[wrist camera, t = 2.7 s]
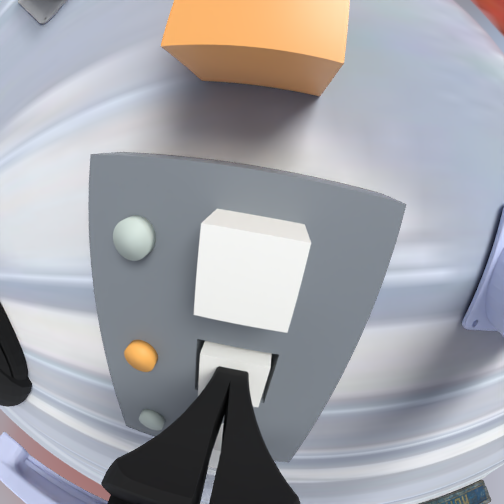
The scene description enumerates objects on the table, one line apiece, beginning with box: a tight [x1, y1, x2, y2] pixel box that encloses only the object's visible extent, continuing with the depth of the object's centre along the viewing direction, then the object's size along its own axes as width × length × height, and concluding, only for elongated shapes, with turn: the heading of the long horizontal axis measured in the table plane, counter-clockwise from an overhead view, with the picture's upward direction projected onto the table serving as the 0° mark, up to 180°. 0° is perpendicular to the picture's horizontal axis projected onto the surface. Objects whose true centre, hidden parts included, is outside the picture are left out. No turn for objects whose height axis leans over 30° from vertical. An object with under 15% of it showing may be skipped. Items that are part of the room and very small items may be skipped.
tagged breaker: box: [198, 341, 272, 407], centre depth 13 cm, size 3×3×3 cm
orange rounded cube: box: [161, 0, 350, 96], centre depth 7 cm, size 5×5×4 cm
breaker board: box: [89, 152, 406, 469], centre depth 12 cm, size 12×18×4 cm, turn 171°
